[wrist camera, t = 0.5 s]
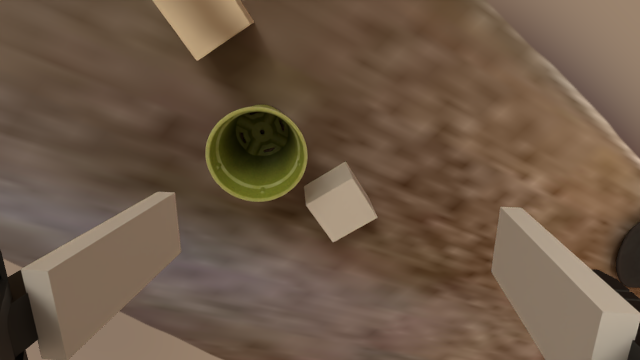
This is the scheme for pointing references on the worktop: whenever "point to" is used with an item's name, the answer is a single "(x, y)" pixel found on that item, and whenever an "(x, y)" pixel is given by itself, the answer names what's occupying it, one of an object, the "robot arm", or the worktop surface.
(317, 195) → the grey block
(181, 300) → the worktop surface
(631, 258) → the casserole
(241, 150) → the plant pot
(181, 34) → the birch block
